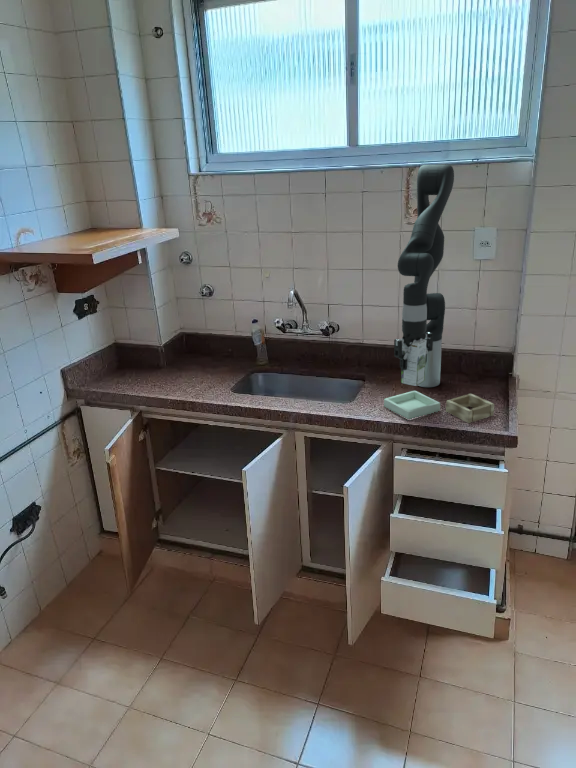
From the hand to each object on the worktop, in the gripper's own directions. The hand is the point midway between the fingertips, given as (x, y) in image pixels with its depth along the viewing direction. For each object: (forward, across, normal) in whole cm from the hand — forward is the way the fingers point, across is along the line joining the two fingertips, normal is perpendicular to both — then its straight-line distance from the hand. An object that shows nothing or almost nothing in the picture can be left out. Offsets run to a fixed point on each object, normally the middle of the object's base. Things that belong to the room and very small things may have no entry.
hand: (413, 366), depth 188 cm
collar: (+15, -13, +13) cm, 24 cm away
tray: (+15, 0, 0) cm, 15 cm away
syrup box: (+6, 0, 0) cm, 6 cm away
